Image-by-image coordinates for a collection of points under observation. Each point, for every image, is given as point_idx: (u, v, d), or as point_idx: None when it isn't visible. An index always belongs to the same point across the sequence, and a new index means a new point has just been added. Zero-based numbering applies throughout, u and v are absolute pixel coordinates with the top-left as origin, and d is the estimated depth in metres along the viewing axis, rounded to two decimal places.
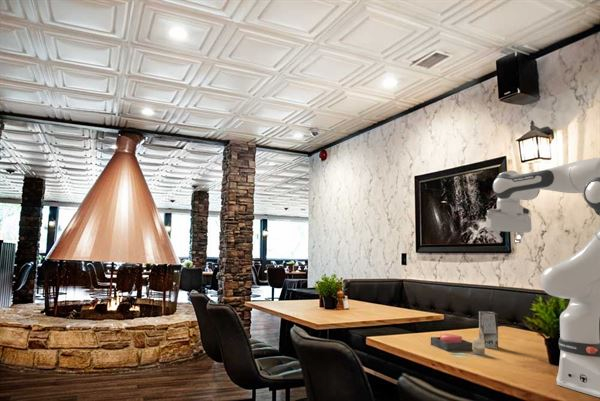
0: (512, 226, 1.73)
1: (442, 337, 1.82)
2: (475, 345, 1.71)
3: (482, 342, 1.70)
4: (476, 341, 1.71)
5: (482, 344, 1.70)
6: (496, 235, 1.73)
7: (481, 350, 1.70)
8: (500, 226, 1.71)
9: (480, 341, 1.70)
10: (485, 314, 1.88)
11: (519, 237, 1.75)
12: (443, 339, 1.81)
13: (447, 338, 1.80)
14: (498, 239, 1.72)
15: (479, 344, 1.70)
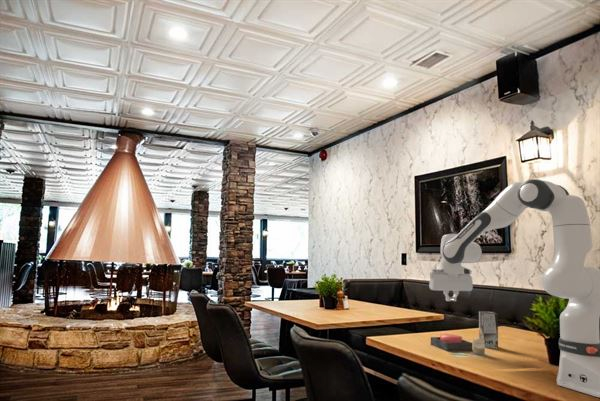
0: (454, 286, 1.84)
1: (442, 337, 1.82)
2: (475, 345, 1.71)
3: (482, 342, 1.70)
4: (476, 341, 1.71)
5: (482, 344, 1.70)
6: (445, 294, 1.85)
7: (481, 350, 1.70)
8: (442, 286, 1.83)
9: (480, 341, 1.70)
10: (485, 314, 1.88)
11: (454, 295, 1.86)
12: (443, 339, 1.81)
13: (447, 338, 1.80)
14: (447, 298, 1.84)
15: (479, 344, 1.70)
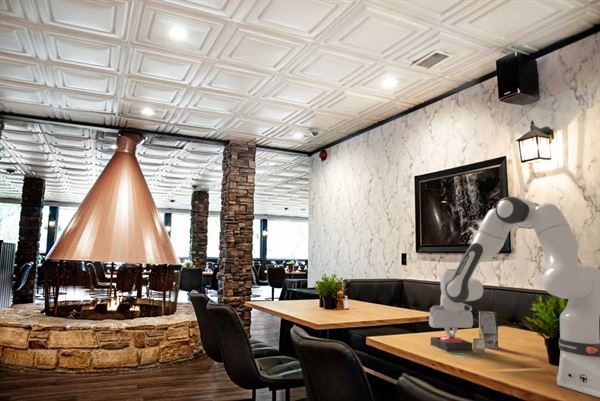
0: (454, 323, 1.82)
1: (442, 339, 1.82)
2: (475, 345, 1.71)
3: (482, 342, 1.70)
4: (476, 341, 1.71)
5: (482, 344, 1.70)
6: (446, 331, 1.83)
7: (481, 350, 1.70)
8: (442, 323, 1.81)
9: (480, 341, 1.70)
10: (485, 314, 1.88)
11: (453, 332, 1.84)
12: None
13: (447, 340, 1.80)
14: (448, 335, 1.83)
15: (479, 344, 1.70)
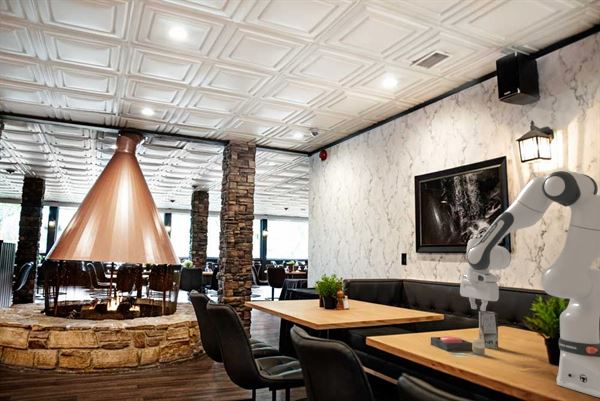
0: (475, 293, 1.74)
1: (442, 339, 1.82)
2: (475, 345, 1.71)
3: (482, 342, 1.70)
4: (476, 341, 1.71)
5: (481, 344, 1.70)
6: None
7: (480, 350, 1.70)
8: (466, 292, 1.80)
9: (480, 341, 1.70)
10: (485, 314, 1.88)
11: None
12: None
13: (447, 340, 1.80)
14: None
15: (478, 344, 1.70)
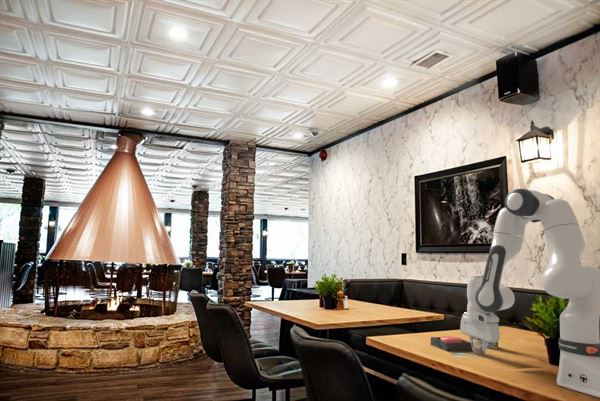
0: (475, 332, 1.72)
1: (442, 339, 1.82)
2: (474, 345, 1.71)
3: (481, 342, 1.70)
4: (475, 341, 1.71)
5: (481, 344, 1.70)
6: None
7: (480, 350, 1.70)
8: (466, 330, 1.78)
9: (479, 341, 1.70)
10: None
11: None
12: None
13: (447, 340, 1.80)
14: None
15: (478, 344, 1.70)
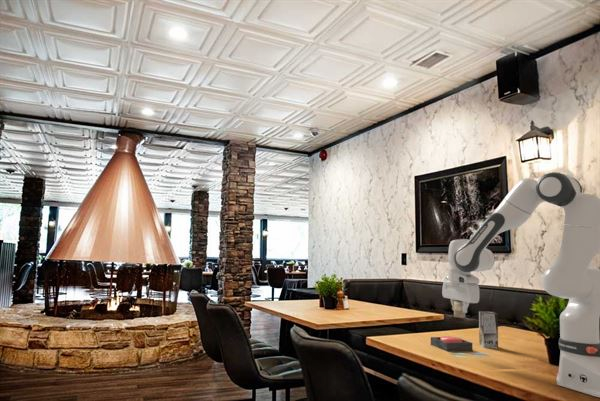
0: (456, 295, 1.72)
1: (442, 339, 1.82)
2: (455, 307, 1.71)
3: (462, 304, 1.70)
4: (456, 303, 1.71)
5: (462, 306, 1.70)
6: None
7: (461, 312, 1.69)
8: (447, 294, 1.77)
9: (460, 303, 1.70)
10: (485, 314, 1.88)
11: None
12: None
13: (447, 340, 1.80)
14: None
15: (459, 306, 1.70)
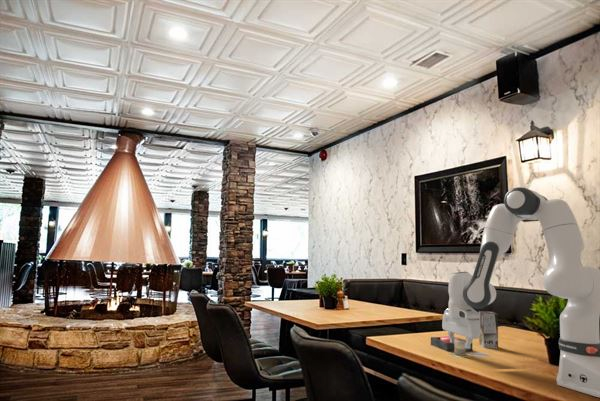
0: (456, 329, 1.70)
1: (442, 339, 1.82)
2: (456, 345, 1.69)
3: (463, 342, 1.68)
4: (457, 341, 1.69)
5: (462, 344, 1.68)
6: None
7: (461, 350, 1.67)
8: (447, 327, 1.76)
9: (460, 341, 1.68)
10: (485, 314, 1.88)
11: None
12: None
13: (447, 340, 1.80)
14: None
15: (459, 345, 1.68)
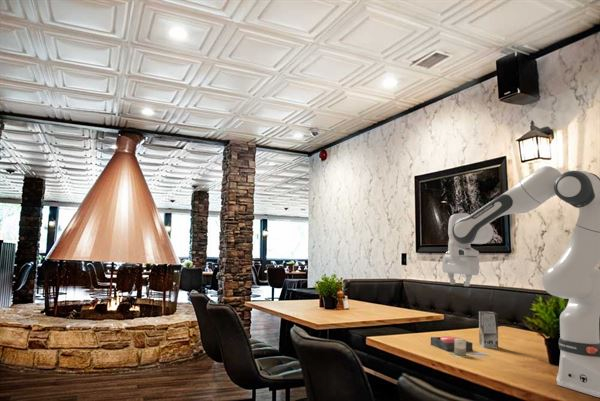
0: (456, 268, 1.73)
1: (442, 339, 1.82)
2: (456, 345, 1.69)
3: (463, 342, 1.68)
4: (457, 341, 1.69)
5: (462, 344, 1.68)
6: None
7: (461, 350, 1.67)
8: (447, 268, 1.79)
9: (460, 341, 1.68)
10: (485, 314, 1.88)
11: None
12: None
13: (447, 340, 1.80)
14: None
15: (459, 345, 1.68)
